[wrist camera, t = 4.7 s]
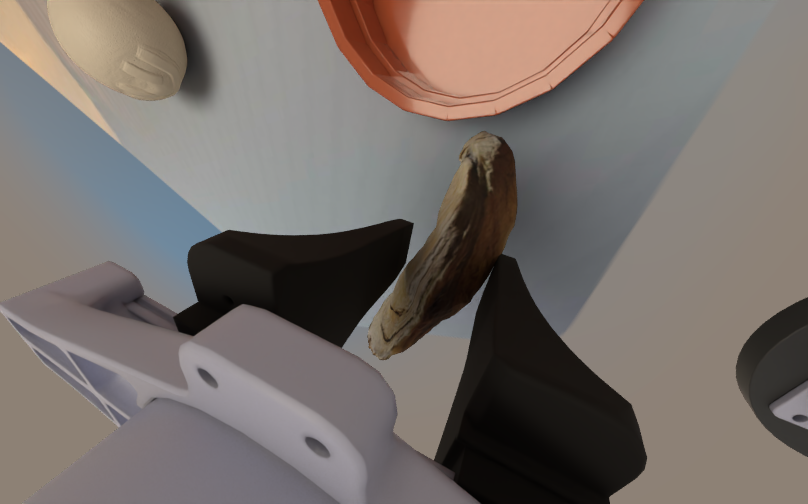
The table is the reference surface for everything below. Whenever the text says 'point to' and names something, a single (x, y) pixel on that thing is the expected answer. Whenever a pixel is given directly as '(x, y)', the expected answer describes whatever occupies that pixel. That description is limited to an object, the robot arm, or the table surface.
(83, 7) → the cream ball
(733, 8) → the table surface
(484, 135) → the oyster shell
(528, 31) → the bowl
